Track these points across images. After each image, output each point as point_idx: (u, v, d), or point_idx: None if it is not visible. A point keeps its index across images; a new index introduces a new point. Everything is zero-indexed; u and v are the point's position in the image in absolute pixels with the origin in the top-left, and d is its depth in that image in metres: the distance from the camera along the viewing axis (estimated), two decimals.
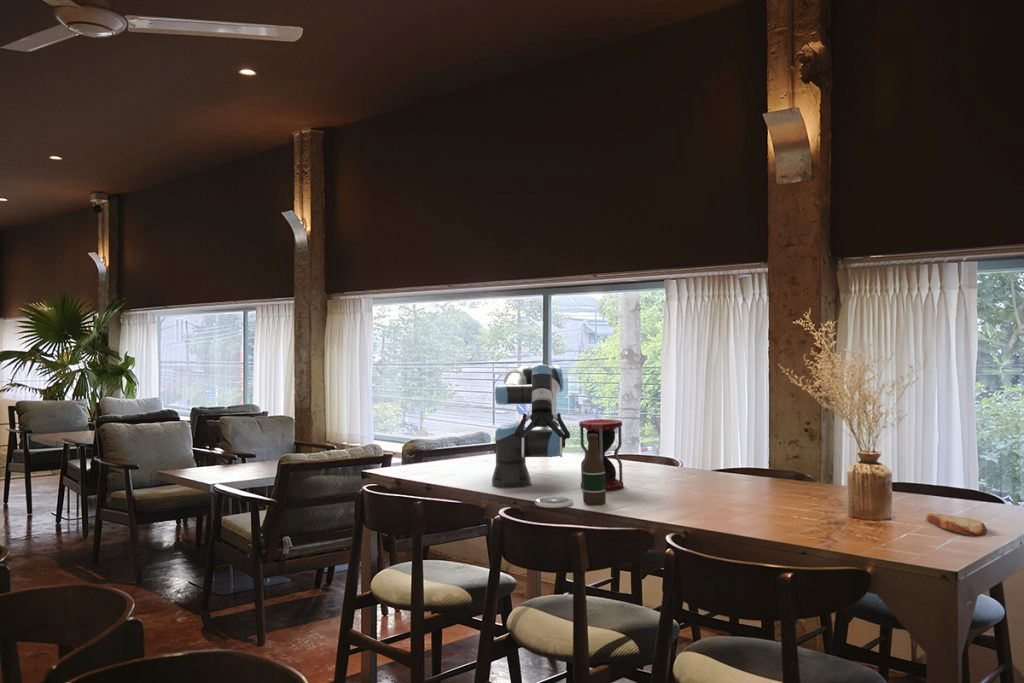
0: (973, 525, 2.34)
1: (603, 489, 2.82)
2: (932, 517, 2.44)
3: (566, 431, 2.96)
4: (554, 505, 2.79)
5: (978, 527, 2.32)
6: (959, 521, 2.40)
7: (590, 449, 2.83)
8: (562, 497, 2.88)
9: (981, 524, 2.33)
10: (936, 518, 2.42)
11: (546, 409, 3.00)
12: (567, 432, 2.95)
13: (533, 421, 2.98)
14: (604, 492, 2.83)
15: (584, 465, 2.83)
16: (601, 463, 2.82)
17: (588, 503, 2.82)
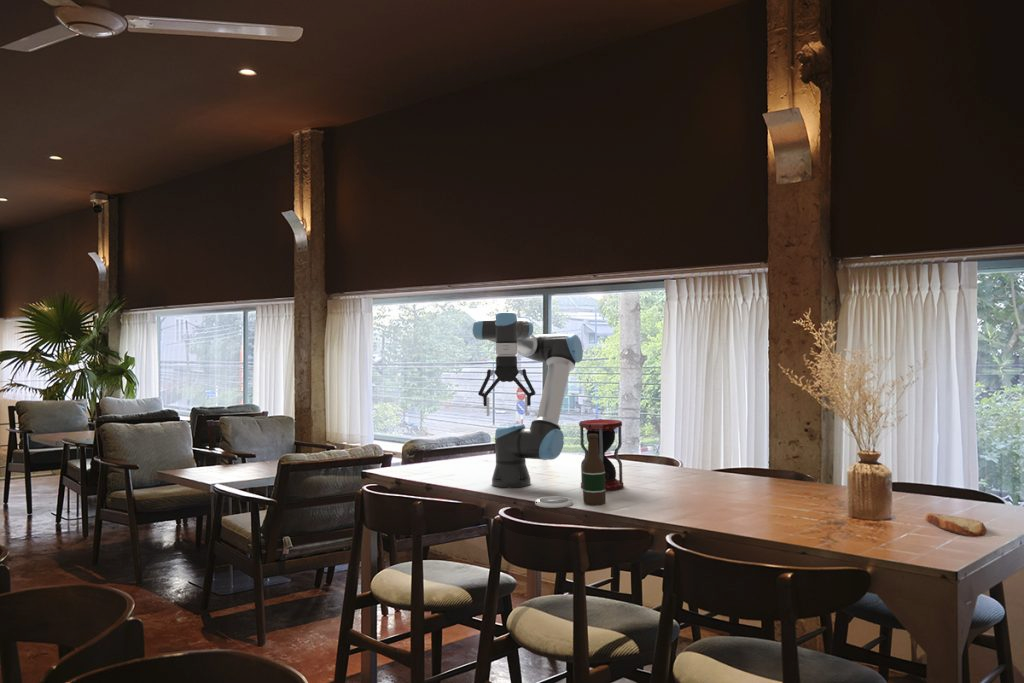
0: (973, 525, 2.34)
1: (603, 489, 2.82)
2: (932, 517, 2.45)
3: (531, 390, 2.90)
4: (554, 505, 2.79)
5: (978, 528, 2.32)
6: (959, 521, 2.40)
7: (590, 449, 2.83)
8: (562, 497, 2.88)
9: (981, 524, 2.33)
10: (936, 518, 2.42)
11: (511, 366, 2.90)
12: (532, 391, 2.90)
13: (498, 379, 2.90)
14: (604, 492, 2.83)
15: (584, 465, 2.83)
16: (601, 463, 2.82)
17: (588, 503, 2.82)
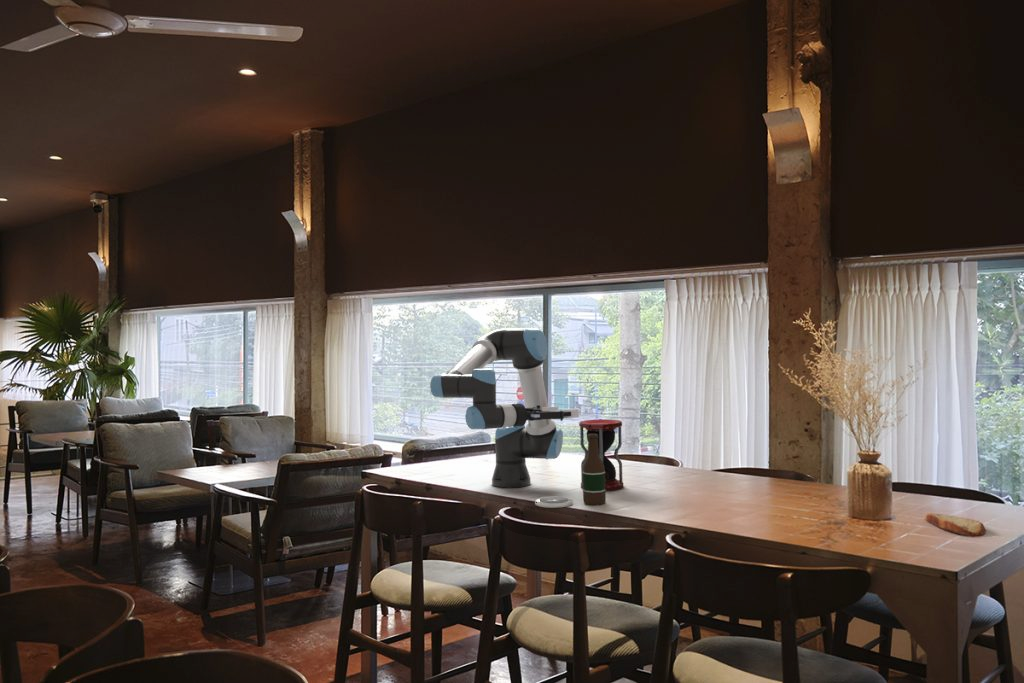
0: (972, 525, 2.34)
1: (603, 489, 2.82)
2: (931, 517, 2.45)
3: (557, 418, 2.68)
4: (554, 505, 2.79)
5: (977, 528, 2.32)
6: (958, 521, 2.40)
7: (590, 449, 2.83)
8: (562, 497, 2.88)
9: (980, 524, 2.33)
10: (935, 518, 2.42)
11: None
12: (559, 418, 2.68)
13: None
14: (604, 492, 2.83)
15: (584, 465, 2.83)
16: (601, 463, 2.82)
17: (588, 503, 2.82)
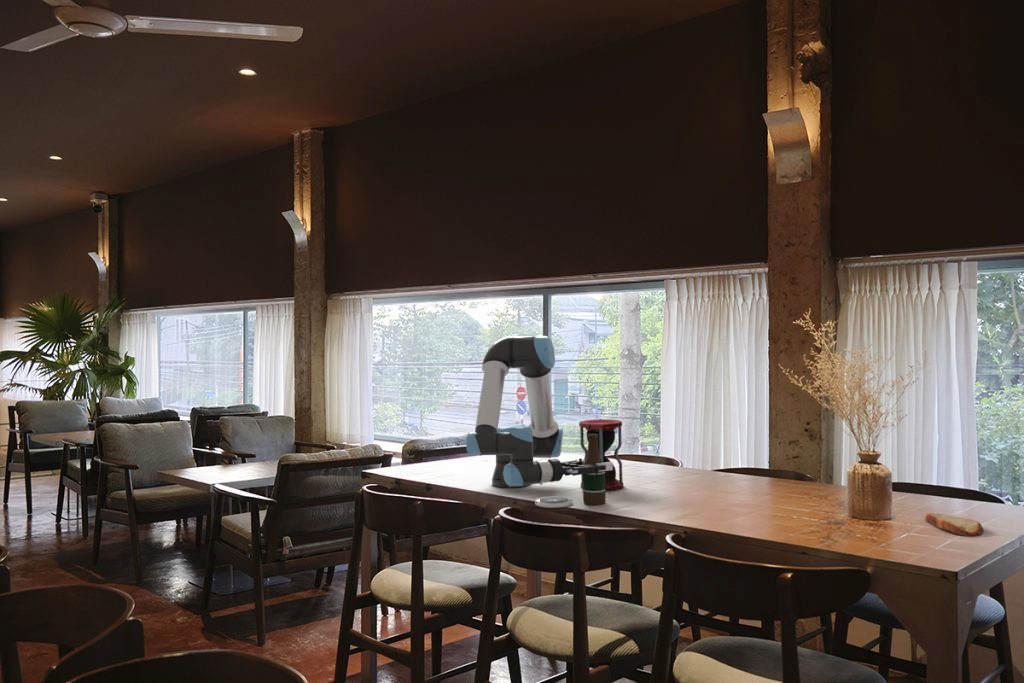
0: (969, 525, 2.34)
1: (603, 489, 2.82)
2: (930, 517, 2.45)
3: None
4: (554, 505, 2.79)
5: (974, 528, 2.32)
6: (957, 521, 2.40)
7: (590, 449, 2.83)
8: (562, 497, 2.88)
9: (977, 524, 2.33)
10: (933, 518, 2.42)
11: None
12: None
13: None
14: (604, 492, 2.83)
15: None
16: None
17: (588, 503, 2.82)
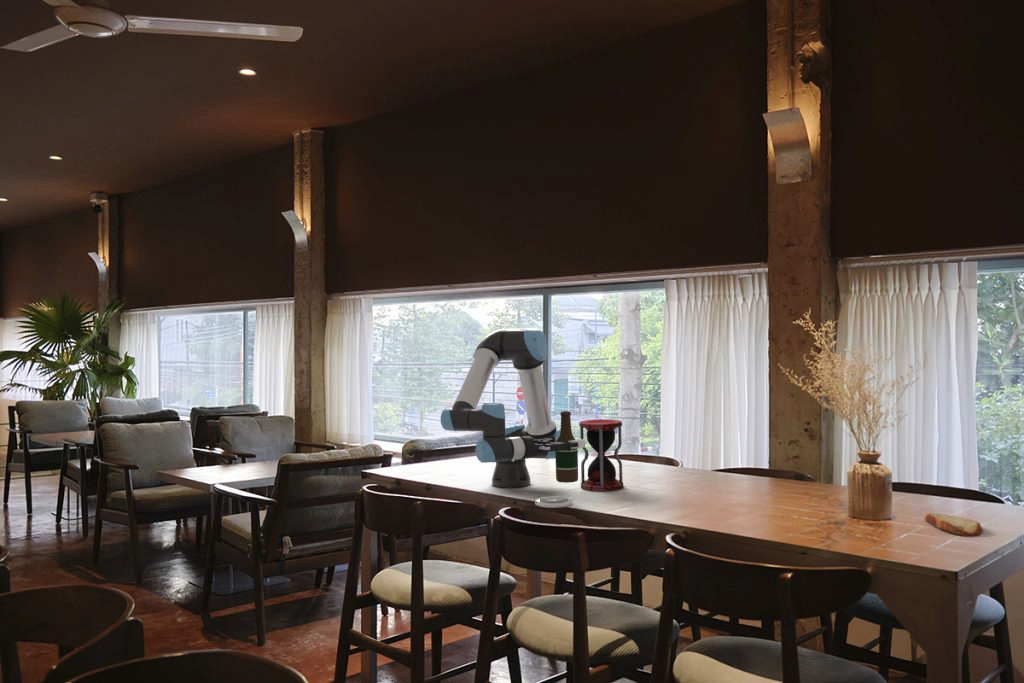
0: (968, 525, 2.34)
1: (576, 466, 2.83)
2: (930, 517, 2.45)
3: None
4: (554, 505, 2.79)
5: (973, 528, 2.32)
6: (956, 521, 2.40)
7: (563, 426, 2.83)
8: (562, 497, 2.88)
9: (976, 524, 2.33)
10: (933, 518, 2.42)
11: None
12: (567, 449, 2.77)
13: None
14: (577, 469, 2.83)
15: None
16: None
17: (561, 480, 2.82)
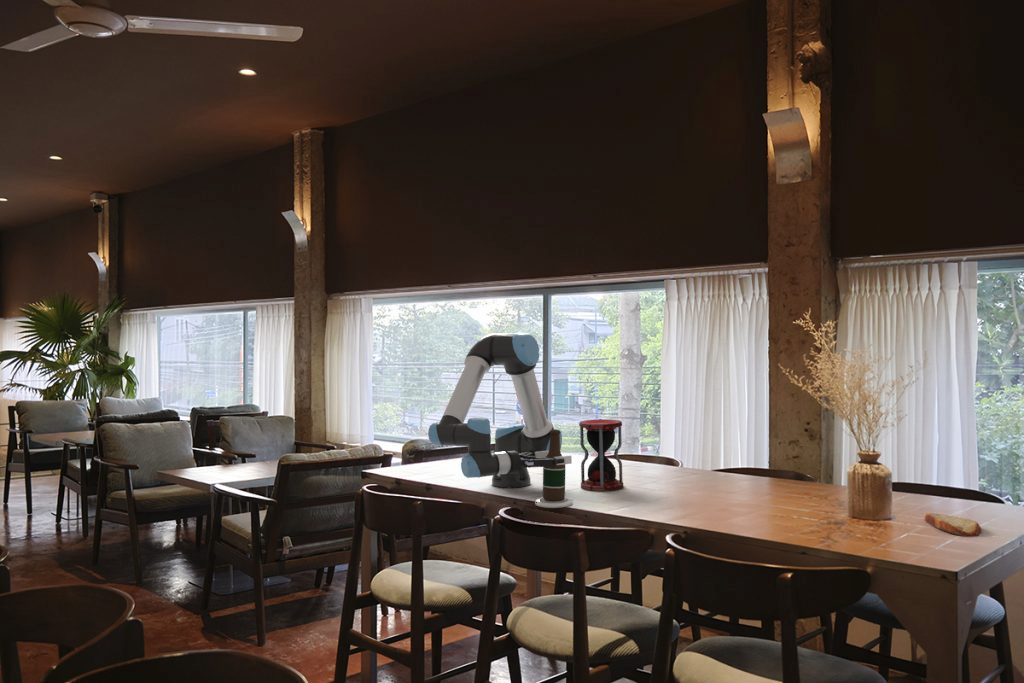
0: (967, 525, 2.34)
1: (563, 485, 2.83)
2: (929, 517, 2.45)
3: None
4: (554, 505, 2.79)
5: (972, 528, 2.32)
6: (955, 521, 2.40)
7: (551, 445, 2.84)
8: None
9: (975, 524, 2.33)
10: (932, 518, 2.42)
11: None
12: None
13: None
14: (563, 488, 2.84)
15: None
16: None
17: (547, 498, 2.83)
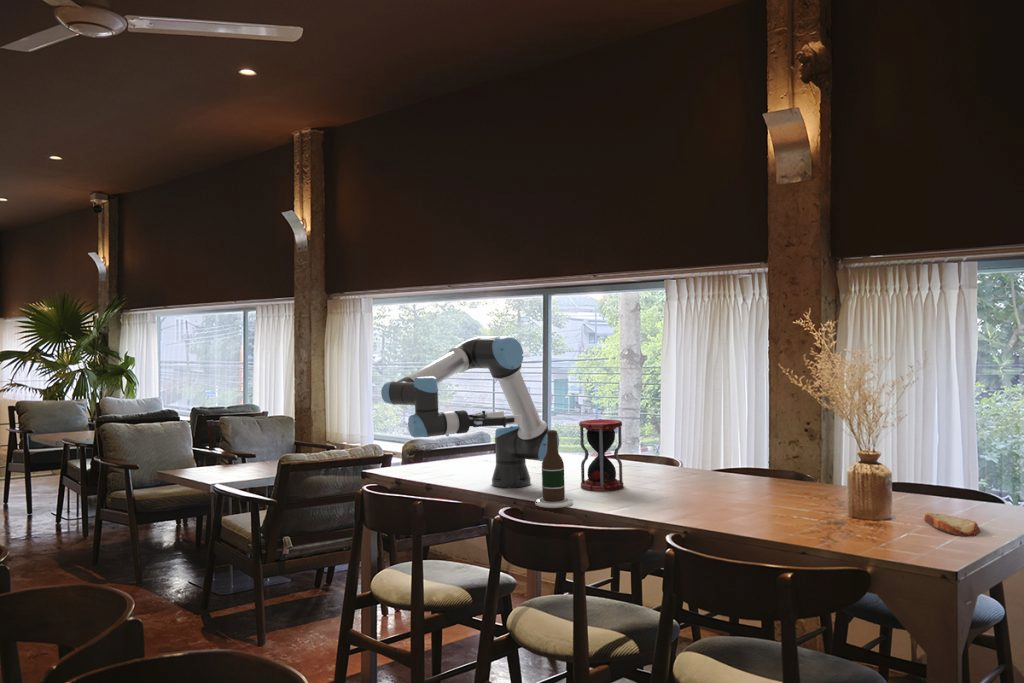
0: (966, 525, 2.34)
1: (562, 485, 2.83)
2: (928, 516, 2.45)
3: None
4: (554, 505, 2.79)
5: (970, 528, 2.32)
6: (954, 521, 2.40)
7: (549, 446, 2.83)
8: None
9: (974, 525, 2.33)
10: (931, 518, 2.43)
11: None
12: None
13: None
14: (563, 488, 2.84)
15: (543, 462, 2.84)
16: (560, 460, 2.83)
17: (547, 499, 2.83)
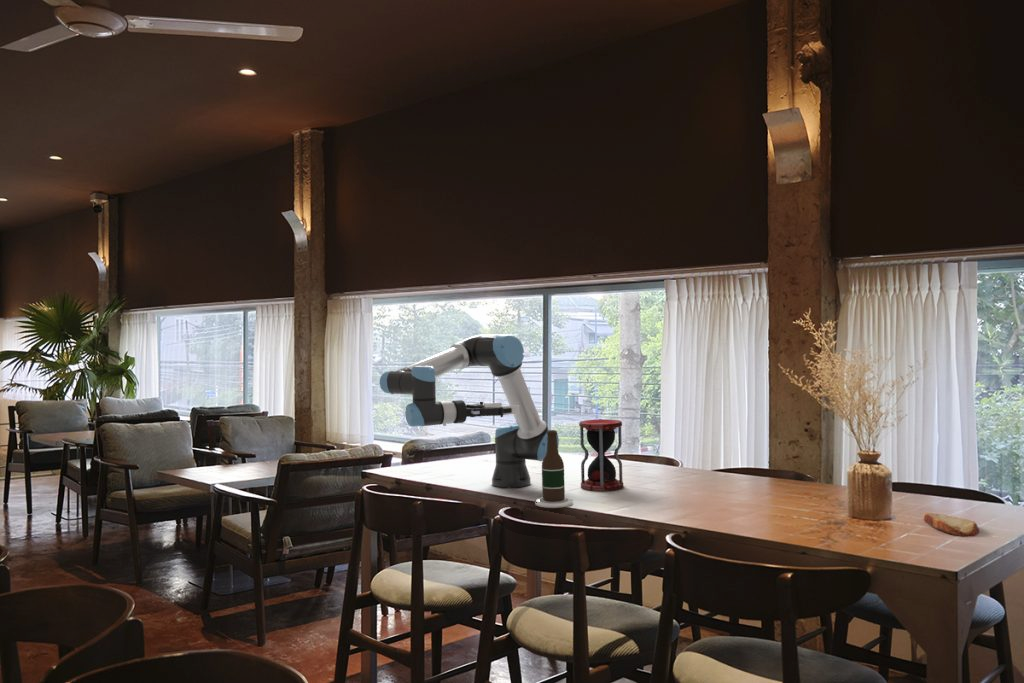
0: (965, 525, 2.34)
1: (562, 485, 2.83)
2: (928, 517, 2.45)
3: None
4: (554, 505, 2.79)
5: (969, 528, 2.32)
6: (954, 521, 2.40)
7: (549, 446, 2.83)
8: None
9: (973, 525, 2.33)
10: (930, 518, 2.43)
11: None
12: None
13: None
14: (563, 488, 2.84)
15: (543, 462, 2.84)
16: (560, 460, 2.83)
17: (547, 499, 2.83)
